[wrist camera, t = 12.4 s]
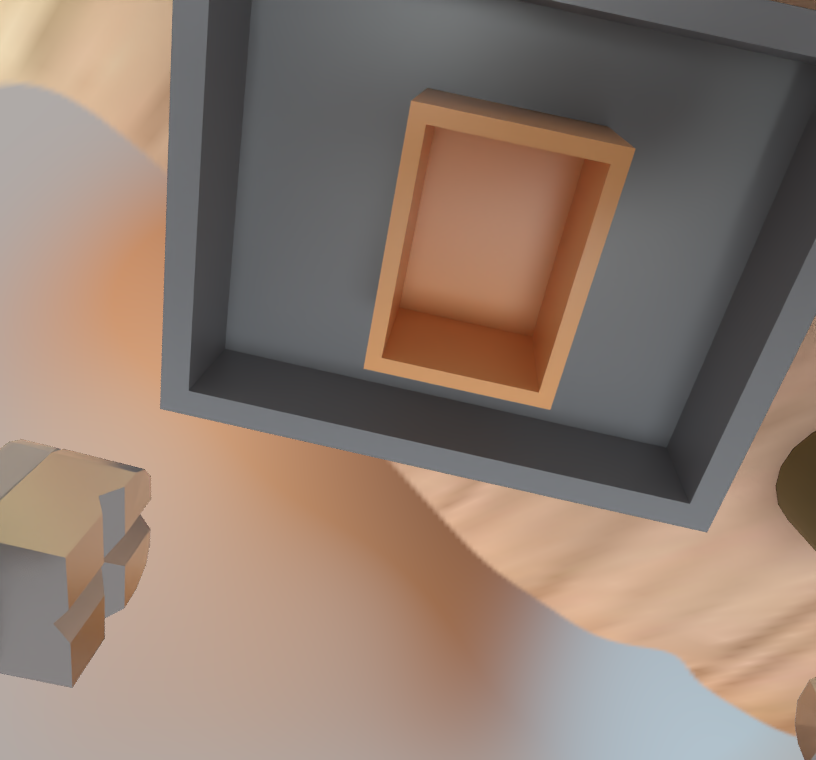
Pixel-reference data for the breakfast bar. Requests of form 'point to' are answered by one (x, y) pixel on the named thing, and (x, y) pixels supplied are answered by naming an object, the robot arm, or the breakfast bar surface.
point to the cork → (800, 488)
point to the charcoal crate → (371, 210)
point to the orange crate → (492, 245)
